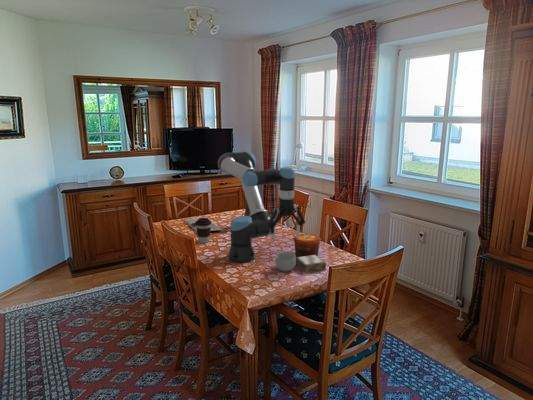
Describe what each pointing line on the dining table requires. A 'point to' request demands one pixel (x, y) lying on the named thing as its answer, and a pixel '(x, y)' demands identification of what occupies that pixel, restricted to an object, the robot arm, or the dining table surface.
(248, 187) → the robot arm
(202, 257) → the dining table surface
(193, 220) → the newspaper
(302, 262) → the pedestal
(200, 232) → the coffee cup
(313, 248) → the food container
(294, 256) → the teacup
